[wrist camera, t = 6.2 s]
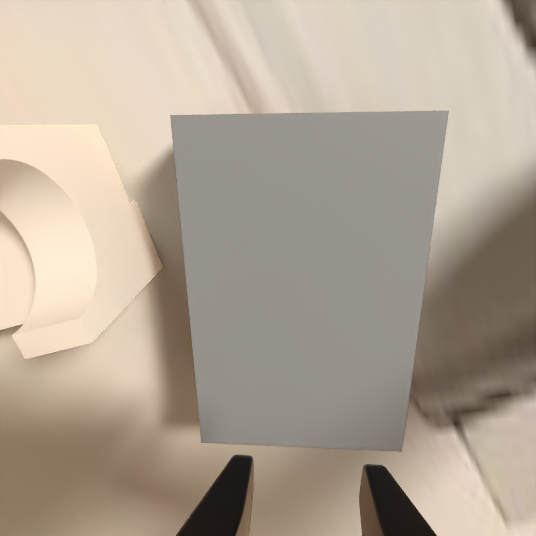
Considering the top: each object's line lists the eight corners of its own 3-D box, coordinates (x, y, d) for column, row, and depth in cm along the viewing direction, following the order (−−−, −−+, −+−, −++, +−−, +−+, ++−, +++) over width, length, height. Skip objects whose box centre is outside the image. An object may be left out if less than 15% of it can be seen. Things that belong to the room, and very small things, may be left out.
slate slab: (424, 112, 15) (448, 110, 12) (389, 412, 20) (401, 451, 17) (189, 116, 15) (170, 115, 13) (212, 405, 20) (201, 442, 18)
